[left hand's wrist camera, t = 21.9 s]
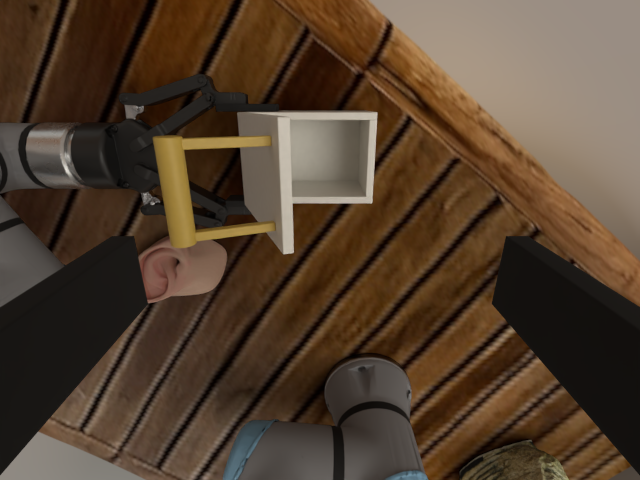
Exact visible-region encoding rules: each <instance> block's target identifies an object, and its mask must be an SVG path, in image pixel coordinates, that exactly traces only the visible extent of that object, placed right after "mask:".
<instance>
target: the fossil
mask: <svg viewBox="0 0 640 480" xmlns="http://www.w3.org/2000/svg"><path fill="white" fill-rule="evenodd" d="M459 480H569V479H568V477H567V476H566V474H565V472H564V470H563V467H562V466H561V464H560V463H559V461H558V460H557V459H556V458H555V457H553V456H551V455H549V454H547V453H545V452H544V451H541V450H538V449H537V448H536V447H535V446H534V445H533V443H532V441H531V440H527V441H521V442H518V443H514V444H511V445H507V446H504V447H502V448H499V449H495V450H492V451H490V452H487V453H485V454H482V455H480V456H478V457H477V458H475V459H473V460H472V461H471V462H470V463H468V464H467V465H466V466H465V467H463V469H462V470H461V471H460V478H459Z"/></svg>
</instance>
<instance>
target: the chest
mask: <svg viewBox="0 0 640 480" xmlns="http://www.w3.org/2000/svg"><path fill="white" fill-rule="evenodd" d="M247 113H257V114H267V115H277V116H287V117H290V139H291V173H292V203H372V196H373V180H374V163H375V146H376V128H377V112H371V111H250V112H247Z"/></svg>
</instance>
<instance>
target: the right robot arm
mask: <svg viewBox="0 0 640 480" xmlns="http://www.w3.org/2000/svg"><path fill="white" fill-rule="evenodd" d="M200 90H201V92H202V94H203V95H202V96H201V97H199V98H198V99H196V100H195V101H193V102H192V103H190V104H189V105H187V106H186V107H184V108H183V109H181V110H180V111H179V112H177V113H176V114H174V115H173V116H171V117H170V118H168V119H167V120H165V121H164V122H162V123H161V124H158V125H156V126H155V127H153V128H152V127H151V126H149V125H148V124H146V123H145V122H143V121H142V120H140V119H139V116H140V114H142V113H145V112H146V111H147V109H148V107H147V106H152V105H157V104H160V103H163V102H166V101H169V100H173V99H176V98H179V97H182V96H185V95H188V94H191V93H194V92H197V91H200ZM119 101H120V102H121V103H122V104H124V105H125V111H126V119H125V120H123V121H122V122H120V123H84V124H81V123H0V194H1V193H4V192H8V191H11V190H17V189H36V188H58V189H90V188H95V189H133V190H136V191H138V192H140V193H141V196H142V200H143V204H144V206H142V207H141V212H142V214H144V215H159V214H161V215H164V216H166V213H165V207H164V201H163V197H161V196H159V195H155V194H154V193H153V192H152V190H153V189H154V188H155V187H156V186H158V185H159V186H161V184H160V178H159V172H158V166H157V160H156V155H155V149H154V143H153V137H155V136H169V135H173V134H175V133H176V132H177V131H178V130H180V129H181V128H183V127H184V126H186V125H187V124H189V123H190V122H192V121H193V120H195V119H196V118H198V117H199V116H201V115H202V114H204V113H205V112H207V111H208V110H210V109H211V108H213V107H214V106H216V111H279V104H248V95H247V94H244V93H220V92H218V91H217V90H216V89H215V87H214V84H213V79H212V78H211V77H210V76H207V75H203V74H197V75H194V76H191V77H188V78H185V79H182V80H179V81H176V82H173V83H170V84H168V85H165V86H162V87H159V88H156V89H153V90H150V91H147V92H144V93H141V94H134V93H121V94H120V95H119ZM188 181H189V180H188ZM189 188H190V195H191V201H193V202H195V203H197V204H199V205H201V206H203V207H205V208H207V209H209V210H210V211H208V210H204V209H201V208H197V207H193V206H192V209H193V217H194V224H198V225H202V226H206V227H209V228H216V227H223V225H224V224H225V223H226V222H227V216H228V215H241V214H242V215H250V214H252V213H251V212H250V211H249V209H248V208H247V207H246V205H245V201H244V195H231V196H230V197H229V198H228V199H227V200H224V199H222V198H221V197H219V196H217V195H215V194H213V193H211V192H209V191H207V190H206V189H204V188H202V187H200V186H198V185H196V184H194V183H192V182H191V181H189ZM64 266H66V265H65V264H64V265H63V264H62V263H61V262H60V261H59V260H58V259H57V258H56V257H55V256H54V254H53V253H52V252H51V251H50V250H49V249H48V248H47V247H46V246H45V245H44V244H43V243H42V242H41V241H40V240H39V239H38V237H37V236H36V235H35V234H34V233H33V232H32V231H31V230H30V229H29V228H28V227H27V226H26V225H25V223H24V222H23V221H22V220H21V218H20V217H19V216H18V215H17V214H16V212H15V211H14V210H13V209H12V208H11V207H10V206H9V205H8V203H7V202H6V201H5V200H4V199H3V198H2V197H1V196H0V307H1V306H3V305H4V304H6V303H8V302H9V301H11V300H12V299H14V298H16V297H17V296H19V295H20V294H22V293H23V292H25V291H27V290H28V289H30V288H31V287H33V286H34V285H36V284H38V283H39V282H41V281H42V280H44V279H46V278H47V277H49V276H50V275H52V274H53V273H55V272H57V271H58V270H60V269H61V268H63V267H64Z"/></svg>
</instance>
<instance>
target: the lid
mask: <svg viewBox="0 0 640 480" xmlns="http://www.w3.org/2000/svg"><path fill="white" fill-rule="evenodd" d="M237 116H238V128H239V136H232V137H200V138H182V136H176V135H169V136H155V137H153V143H154V149H155V155H156V160H157V166H158V172H159V178H160V184H161V190H162V196H163V201H164V207H165V213H166V219H167V225H168V231H169V236H170V242H171V246H172V247H174V248H186V247H190V246H193V245H195V244H196V243H197V241H203V240H211V239H218V238H226V237H233V236H241V235H248V234H256V233H263V232H266V233H267V234H268V235H269V236H270V238H271V239H272V240H273V242H274V243H275V244H276V246H277V247H278V248H279V249H280V251H281V252H282V253H283V254H289V253H294V240H293V206H292V173H291V139H290V117H287V116H277V115H267V114H257V113H247V112H238V113H237ZM237 147H240V152H241V164H242V177H243V189H244V201H245V205H246V207H247V208H248V209H249V211H250V212H251V213H252V215H253V216H254V217H255V218H256V220H257V221H258V222H256V223H248V224H240V225H232V226H224V227H216V228H208V229H199V230H195V224H194V217H193V209H192V202H191V195H190V188H189V181H188V174H187V167H186V160H185V153H184V150H192V149H215V148H237Z"/></svg>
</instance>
